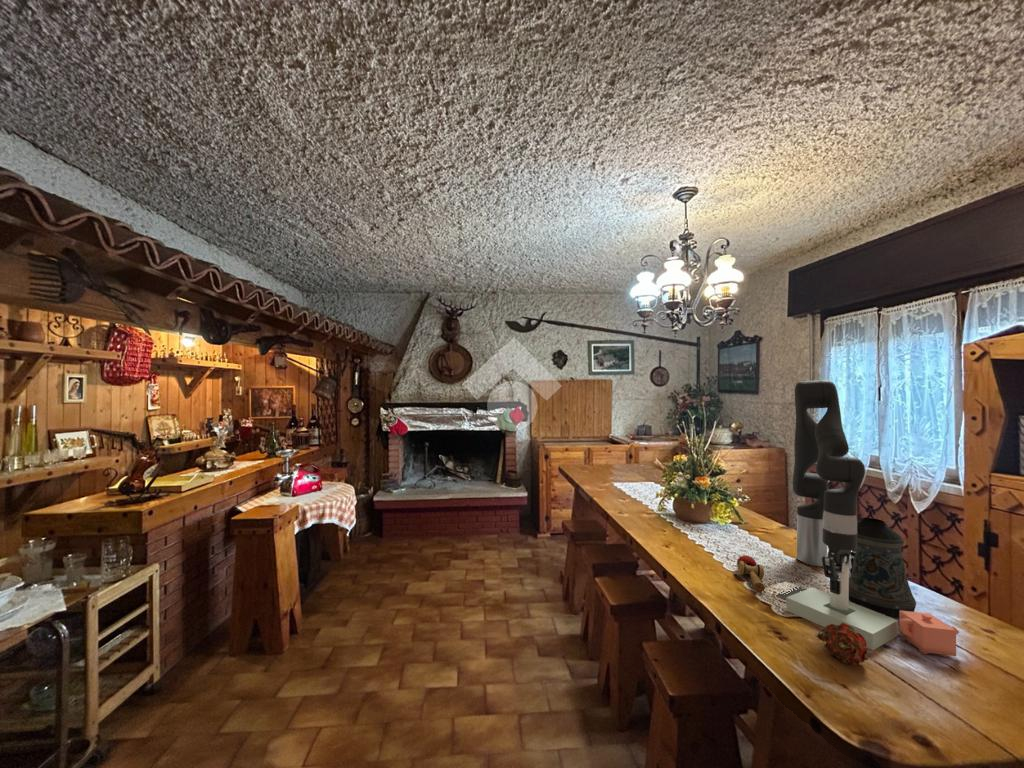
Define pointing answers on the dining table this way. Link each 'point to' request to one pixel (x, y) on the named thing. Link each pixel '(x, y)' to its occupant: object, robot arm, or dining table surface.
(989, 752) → the dining table surface
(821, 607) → the hole block
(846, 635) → the dried red rose
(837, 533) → the robot arm
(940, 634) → the pink cube teapot
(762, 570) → the kendama
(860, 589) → the beer stein
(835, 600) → the peg
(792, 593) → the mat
